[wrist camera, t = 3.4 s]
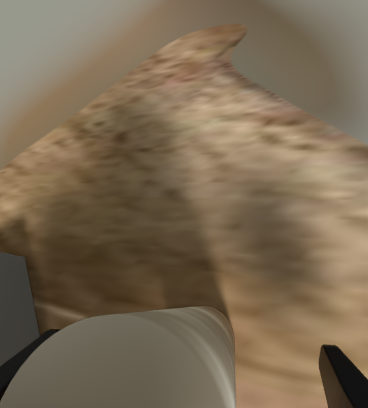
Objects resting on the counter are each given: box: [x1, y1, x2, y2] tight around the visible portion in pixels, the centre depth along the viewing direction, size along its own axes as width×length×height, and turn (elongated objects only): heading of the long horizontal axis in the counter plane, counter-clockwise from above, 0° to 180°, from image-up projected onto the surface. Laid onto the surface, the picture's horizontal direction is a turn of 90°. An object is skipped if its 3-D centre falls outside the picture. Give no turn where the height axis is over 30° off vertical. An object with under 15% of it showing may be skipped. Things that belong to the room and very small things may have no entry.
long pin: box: [0, 306, 236, 408], centre depth 9 cm, size 4×4×13 cm
